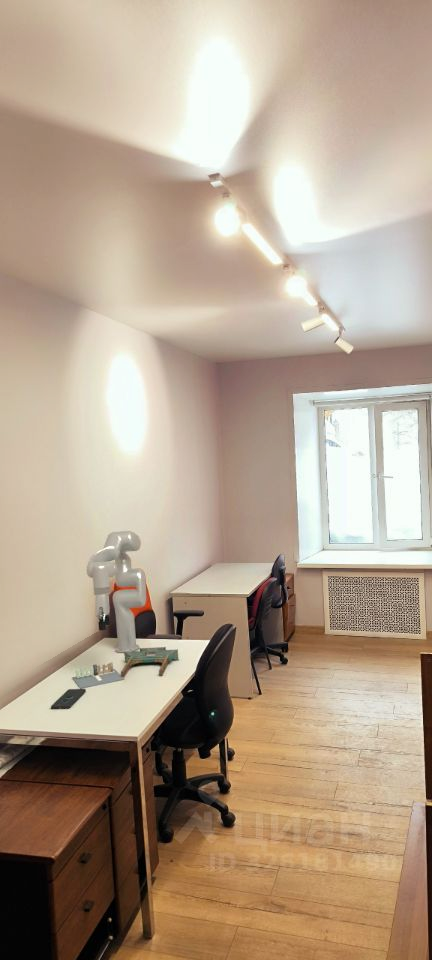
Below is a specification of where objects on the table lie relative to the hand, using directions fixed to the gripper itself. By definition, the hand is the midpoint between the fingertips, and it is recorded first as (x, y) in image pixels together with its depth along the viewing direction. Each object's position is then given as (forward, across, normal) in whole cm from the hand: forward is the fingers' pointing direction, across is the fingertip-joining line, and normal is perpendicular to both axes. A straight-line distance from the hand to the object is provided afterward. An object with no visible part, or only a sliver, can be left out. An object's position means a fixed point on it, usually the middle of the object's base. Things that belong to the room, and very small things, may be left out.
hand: (104, 627), depth 292 cm
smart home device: (+23, +30, -11) cm, 39 cm away
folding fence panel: (+21, +3, -10) cm, 24 cm away
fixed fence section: (+21, 0, -2) cm, 21 cm away
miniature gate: (+22, -8, +18) cm, 29 cm away
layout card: (+22, +5, -4) cm, 23 cm away
